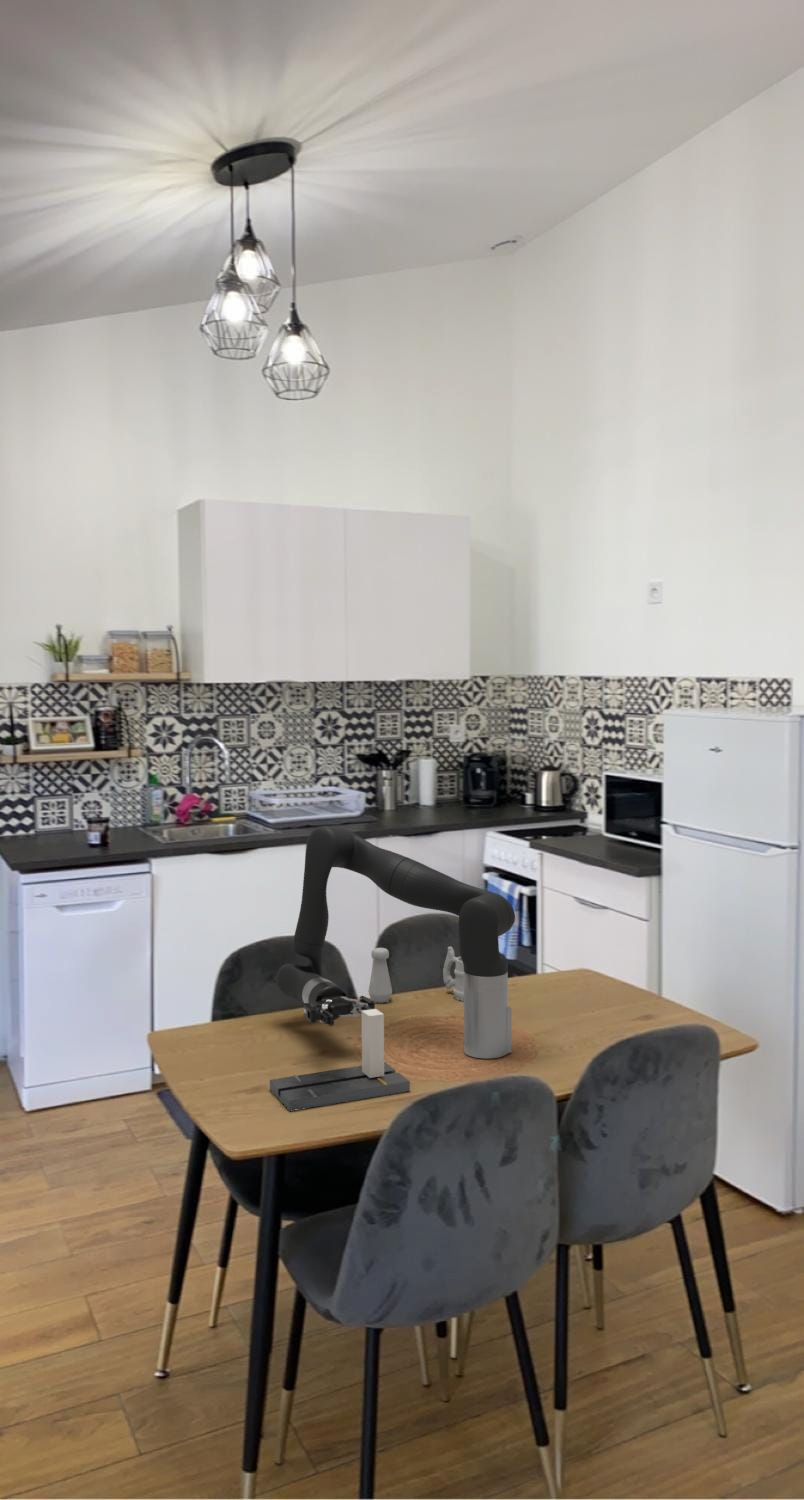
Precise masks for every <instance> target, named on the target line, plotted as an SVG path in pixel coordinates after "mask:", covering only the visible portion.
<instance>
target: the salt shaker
mask: <svg viewBox="0 0 804 1500" xmlns="http://www.w3.org/2000/svg"><path fill="white" fill-rule="evenodd" d="M370 955H371V958H372V959H373V961H372V967H371V968H372V969H371V975H370V981H369V986H368V996H369V999H370V1000H372V1001H374V1002H375V1004H384V1003H383V1002H386V1003H388V1002H389V1001H390V998H391V996H392V994H393V989H392V987H393V986H392V983H391V978H390V972H389V969H388V968H389V967H388V963H387V959H389V957H390V952H389V950H388V949H387V948H384V947H377V948H376V947H375V948H373V949H372V950H371V954H370ZM387 1001H388V1002H387ZM377 1002H378V1003H377ZM381 1002H382V1003H381Z"/></svg>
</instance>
